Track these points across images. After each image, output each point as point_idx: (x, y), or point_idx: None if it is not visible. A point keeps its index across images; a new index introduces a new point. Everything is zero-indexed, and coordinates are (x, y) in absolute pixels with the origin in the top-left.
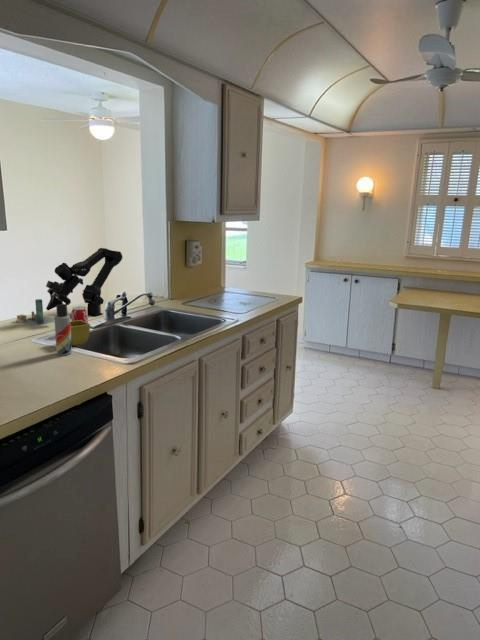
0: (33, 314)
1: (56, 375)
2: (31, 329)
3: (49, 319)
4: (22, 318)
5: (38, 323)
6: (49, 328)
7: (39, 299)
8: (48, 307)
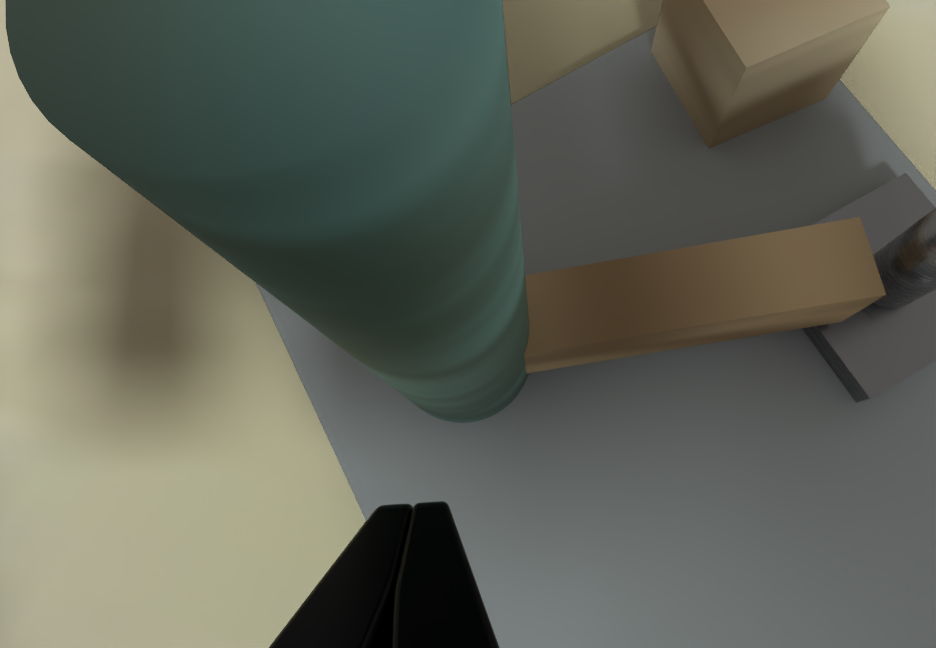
0: (865, 243)
1: None
2: None
3: (711, 620)
4: (680, 24)
5: None
6: (56, 444)
7: (362, 11)
8: (328, 594)
